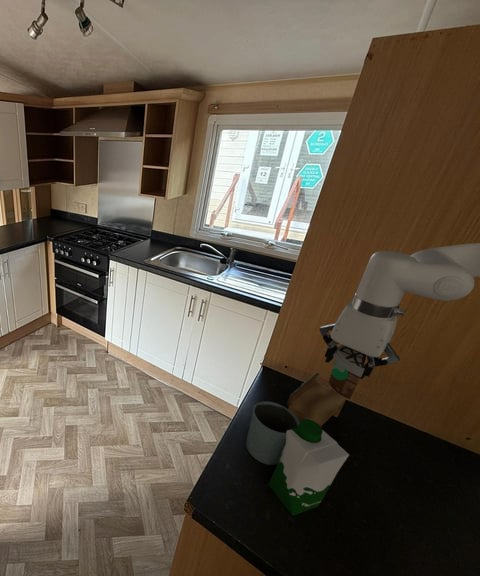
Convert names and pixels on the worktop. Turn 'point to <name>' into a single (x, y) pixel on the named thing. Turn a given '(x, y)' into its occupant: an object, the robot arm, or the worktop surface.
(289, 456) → the milk carton
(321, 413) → the paper bag
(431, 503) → the worktop surface
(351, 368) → the food container
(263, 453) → the grey cup
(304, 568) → the worktop surface
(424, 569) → the worktop surface
